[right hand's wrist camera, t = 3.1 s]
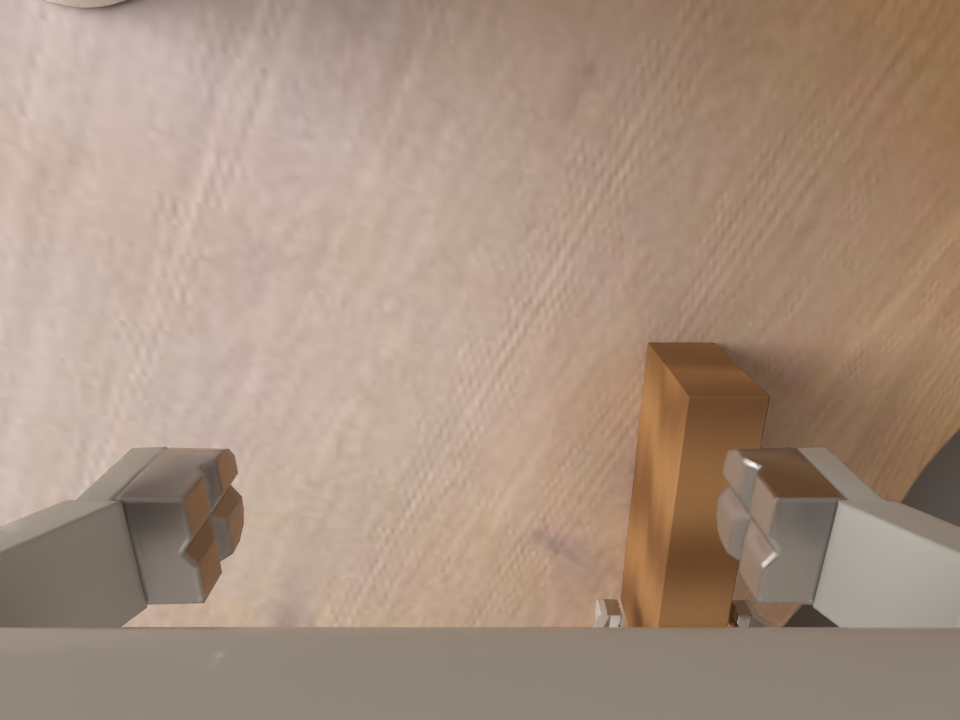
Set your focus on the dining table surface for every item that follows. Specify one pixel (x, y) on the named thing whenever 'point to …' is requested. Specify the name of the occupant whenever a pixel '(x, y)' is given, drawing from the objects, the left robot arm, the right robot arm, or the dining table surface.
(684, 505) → the bar
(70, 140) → the dining table surface
